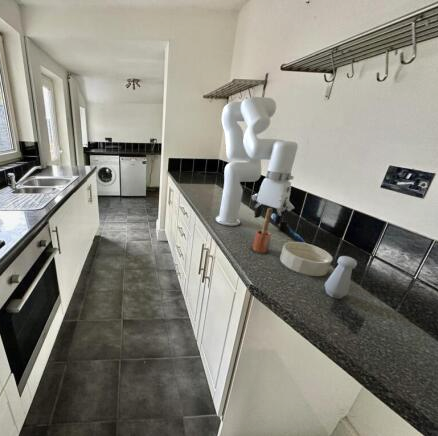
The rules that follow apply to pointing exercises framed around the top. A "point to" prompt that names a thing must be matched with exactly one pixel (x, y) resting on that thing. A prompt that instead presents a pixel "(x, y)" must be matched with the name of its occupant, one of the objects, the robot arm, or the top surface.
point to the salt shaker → (340, 277)
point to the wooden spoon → (266, 221)
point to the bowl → (306, 258)
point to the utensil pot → (261, 241)
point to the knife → (288, 229)
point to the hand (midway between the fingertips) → (266, 220)
